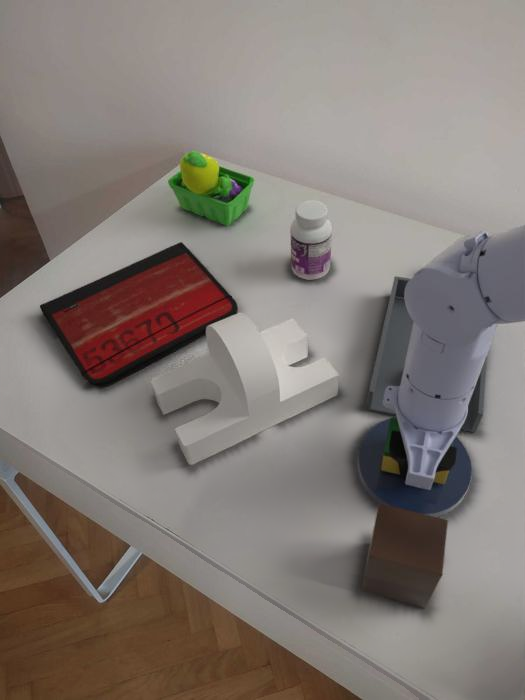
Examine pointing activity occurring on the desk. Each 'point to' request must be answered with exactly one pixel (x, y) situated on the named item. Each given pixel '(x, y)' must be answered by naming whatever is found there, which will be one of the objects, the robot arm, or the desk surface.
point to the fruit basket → (211, 188)
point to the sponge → (392, 465)
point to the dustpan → (394, 358)
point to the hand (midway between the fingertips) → (415, 457)
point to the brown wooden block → (405, 555)
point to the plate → (393, 487)
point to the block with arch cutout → (244, 384)
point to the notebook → (138, 314)
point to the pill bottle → (311, 240)
